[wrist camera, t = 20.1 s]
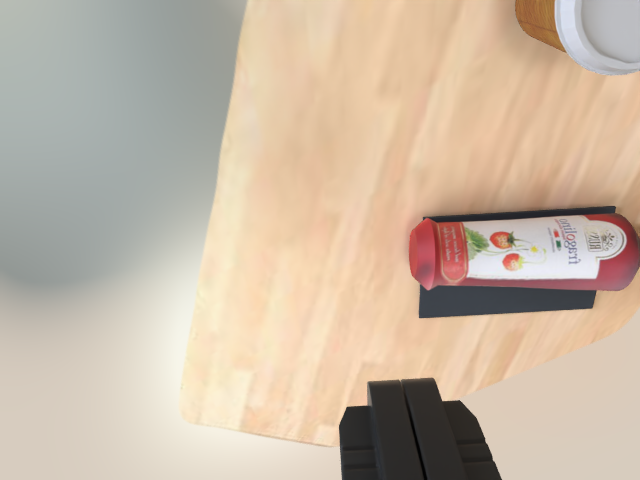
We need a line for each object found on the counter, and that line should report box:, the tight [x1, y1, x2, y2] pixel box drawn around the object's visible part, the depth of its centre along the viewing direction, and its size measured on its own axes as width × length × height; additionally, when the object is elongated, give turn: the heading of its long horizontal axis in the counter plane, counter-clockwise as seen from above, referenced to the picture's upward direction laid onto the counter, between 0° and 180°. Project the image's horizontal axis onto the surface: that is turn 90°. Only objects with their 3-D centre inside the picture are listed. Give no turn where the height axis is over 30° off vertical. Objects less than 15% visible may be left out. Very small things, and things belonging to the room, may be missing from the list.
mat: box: [419, 206, 616, 318], centre depth 49 cm, size 19×12×1 cm, turn 93°
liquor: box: [409, 213, 640, 291], centre depth 45 cm, size 7×7×28 cm
